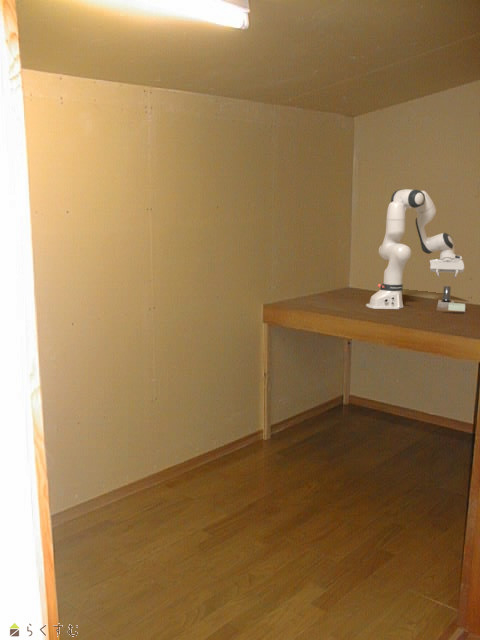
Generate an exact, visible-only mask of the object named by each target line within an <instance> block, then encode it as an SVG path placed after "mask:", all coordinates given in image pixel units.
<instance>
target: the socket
mask: <svg viewBox="0 0 480 640" xmlns="http://www.w3.org/2000/svg"><path fill="white" fill-rule="evenodd" d="M449 303H455V300H451V299H450V302H443V299H438V301H437V304H438V307H448V306H449Z"/></svg>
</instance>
